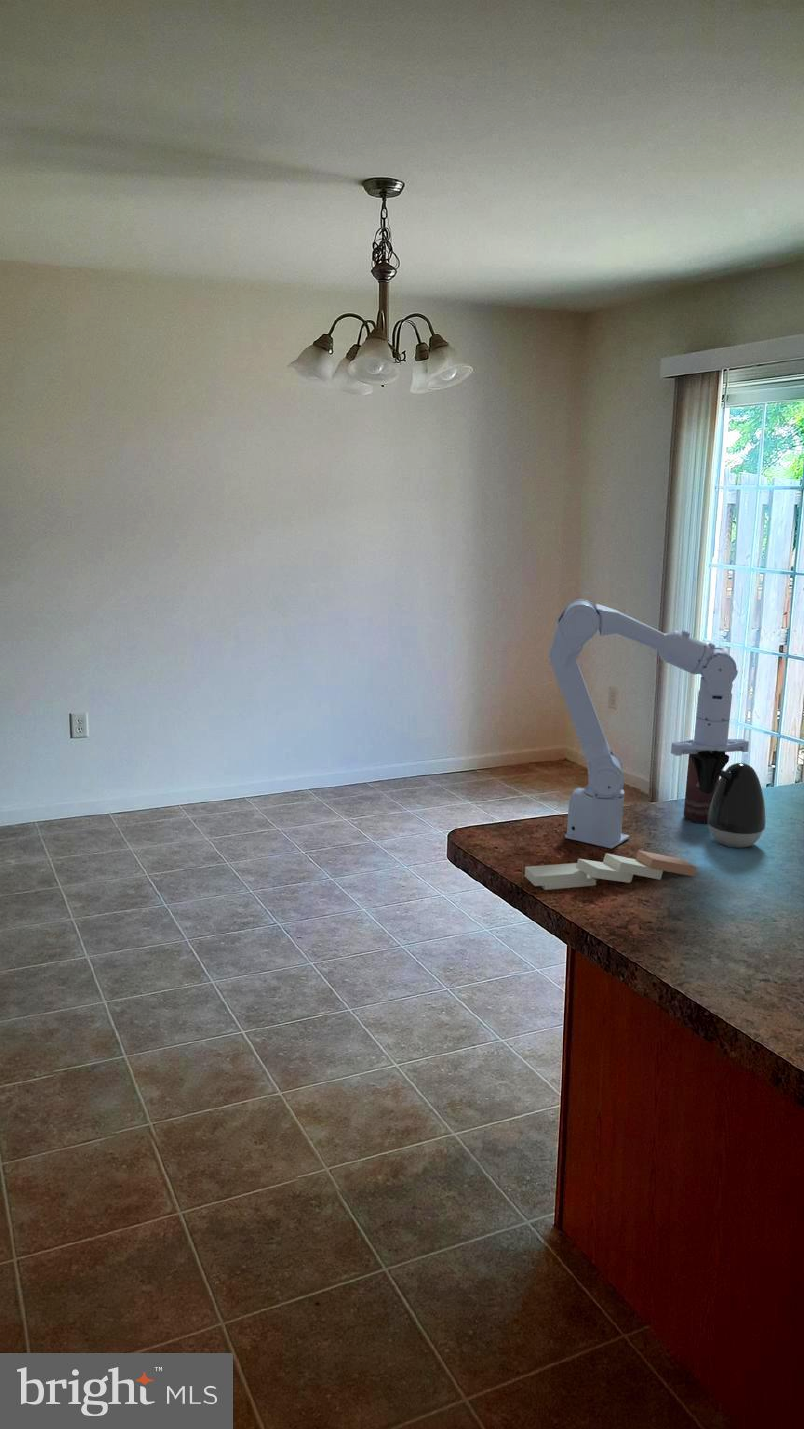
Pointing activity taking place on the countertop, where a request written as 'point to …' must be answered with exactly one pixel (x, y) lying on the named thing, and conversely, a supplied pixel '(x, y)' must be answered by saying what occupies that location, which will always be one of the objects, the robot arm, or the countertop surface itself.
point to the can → (696, 797)
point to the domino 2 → (571, 884)
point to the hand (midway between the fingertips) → (705, 791)
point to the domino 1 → (554, 874)
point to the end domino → (665, 863)
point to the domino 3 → (602, 871)
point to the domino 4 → (631, 866)
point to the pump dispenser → (737, 807)
